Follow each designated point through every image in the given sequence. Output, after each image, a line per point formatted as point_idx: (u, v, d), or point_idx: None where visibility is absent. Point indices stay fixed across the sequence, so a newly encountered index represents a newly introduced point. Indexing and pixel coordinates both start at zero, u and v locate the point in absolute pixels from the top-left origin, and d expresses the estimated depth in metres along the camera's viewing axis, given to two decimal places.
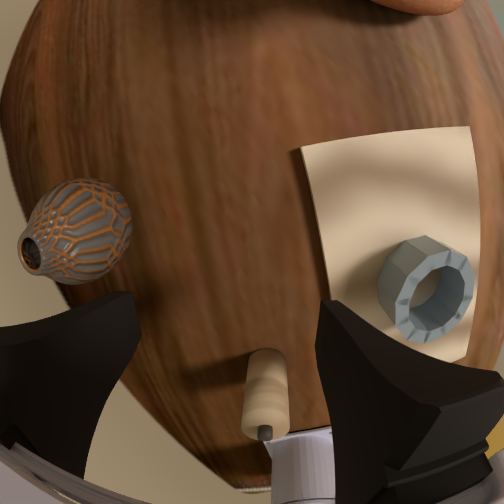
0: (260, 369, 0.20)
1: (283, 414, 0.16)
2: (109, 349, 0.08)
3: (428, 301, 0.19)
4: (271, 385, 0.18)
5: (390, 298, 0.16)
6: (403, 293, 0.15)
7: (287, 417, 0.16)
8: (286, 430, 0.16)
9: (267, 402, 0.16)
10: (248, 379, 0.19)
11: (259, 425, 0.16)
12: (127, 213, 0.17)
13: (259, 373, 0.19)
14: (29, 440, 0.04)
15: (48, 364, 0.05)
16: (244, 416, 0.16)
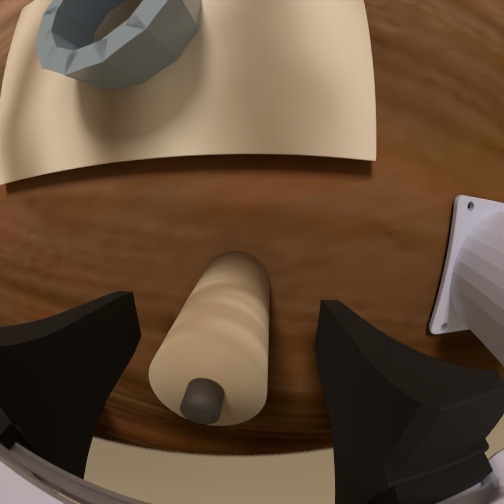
0: None
1: (173, 339, 0.07)
2: (109, 349, 0.08)
3: None
4: None
5: (83, 78, 0.08)
6: (58, 66, 0.07)
7: (190, 333, 0.07)
8: (225, 355, 0.06)
9: None
10: None
11: None
12: None
13: None
14: (29, 439, 0.04)
15: (48, 364, 0.05)
16: None
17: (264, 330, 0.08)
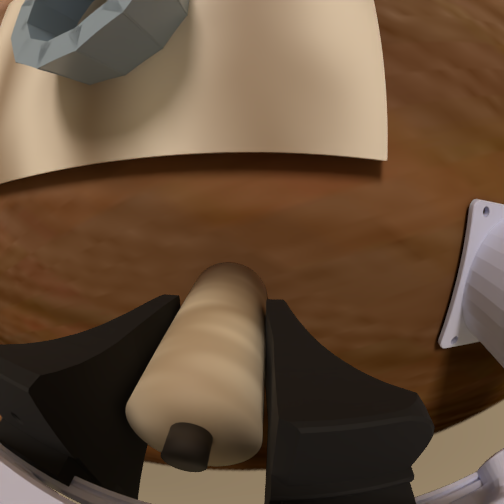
0: None
1: (150, 378, 0.05)
2: None
3: None
4: None
5: (57, 71, 0.06)
6: (31, 59, 0.05)
7: (169, 373, 0.05)
8: (210, 402, 0.05)
9: None
10: None
11: None
12: None
13: None
14: (88, 469, 0.04)
15: (108, 381, 0.05)
16: None
17: (260, 361, 0.07)
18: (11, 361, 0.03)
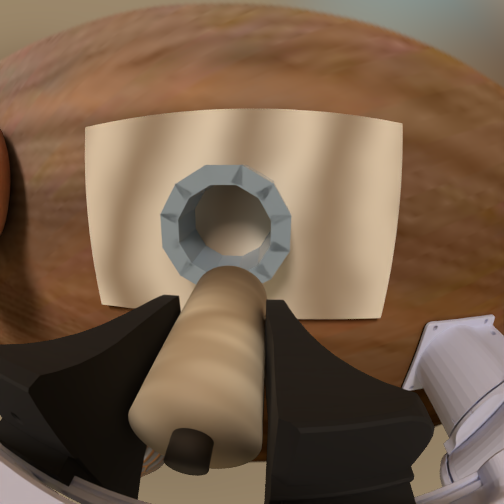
0: None
1: (150, 386, 0.05)
2: None
3: None
4: (163, 345, 0.08)
5: None
6: None
7: (169, 381, 0.05)
8: (209, 408, 0.05)
9: None
10: None
11: None
12: None
13: None
14: (88, 469, 0.04)
15: (107, 381, 0.05)
16: None
17: (259, 365, 0.07)
18: (10, 361, 0.03)
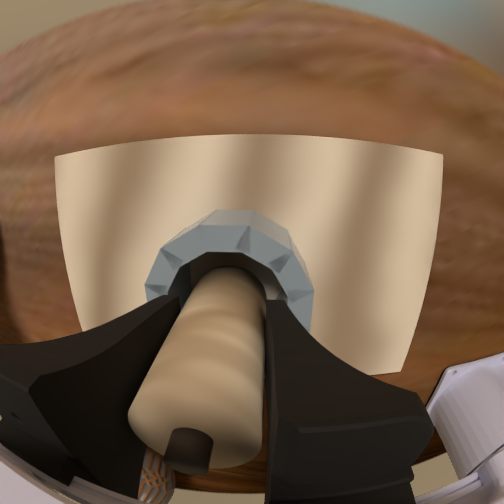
0: None
1: (149, 385, 0.05)
2: None
3: None
4: None
5: None
6: None
7: (168, 380, 0.05)
8: (209, 408, 0.05)
9: None
10: None
11: None
12: None
13: None
14: (88, 469, 0.04)
15: (108, 381, 0.05)
16: None
17: (258, 365, 0.07)
18: (11, 361, 0.03)
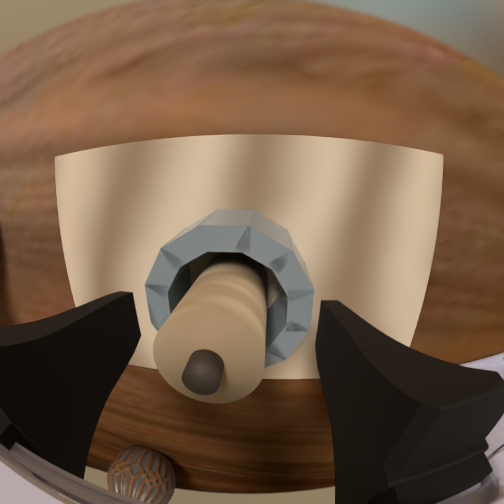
0: None
1: (176, 312, 0.07)
2: (109, 349, 0.08)
3: None
4: None
5: None
6: None
7: (192, 306, 0.07)
8: (223, 323, 0.07)
9: None
10: None
11: None
12: (136, 457, 0.19)
13: None
14: (29, 440, 0.04)
15: (48, 364, 0.05)
16: None
17: (261, 310, 0.09)
18: None
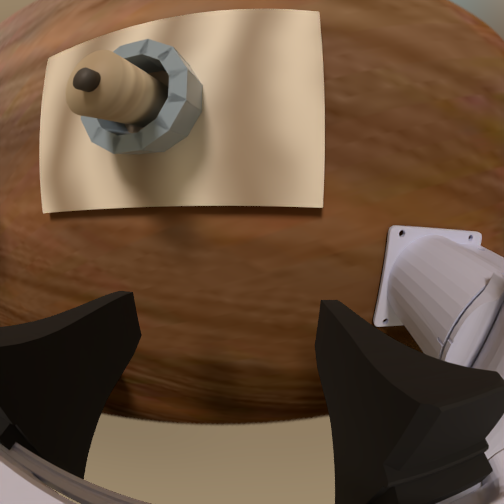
0: None
1: (85, 62, 0.09)
2: (109, 349, 0.08)
3: None
4: None
5: (124, 153, 0.14)
6: (106, 145, 0.13)
7: None
8: (104, 53, 0.08)
9: None
10: None
11: (84, 89, 0.09)
12: None
13: None
14: (30, 440, 0.04)
15: (48, 364, 0.05)
16: None
17: (140, 72, 0.11)
18: None
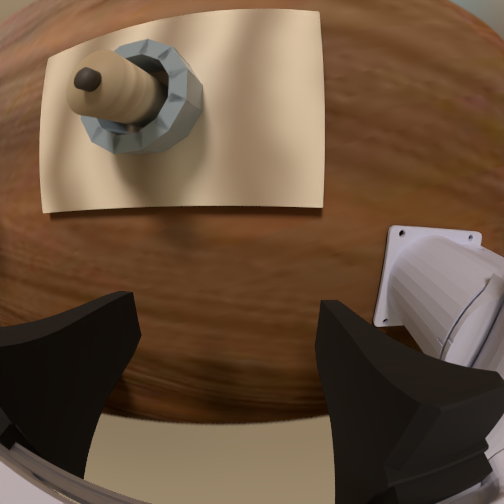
0: None
1: (86, 62, 0.09)
2: (109, 349, 0.08)
3: None
4: None
5: (124, 153, 0.14)
6: (106, 145, 0.13)
7: None
8: (105, 52, 0.08)
9: None
10: None
11: (85, 89, 0.09)
12: None
13: None
14: (30, 440, 0.04)
15: (48, 364, 0.05)
16: None
17: (141, 72, 0.11)
18: None
